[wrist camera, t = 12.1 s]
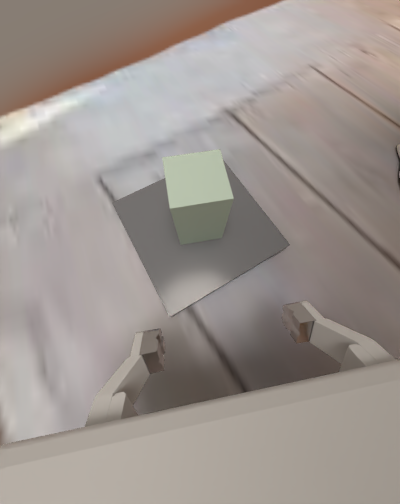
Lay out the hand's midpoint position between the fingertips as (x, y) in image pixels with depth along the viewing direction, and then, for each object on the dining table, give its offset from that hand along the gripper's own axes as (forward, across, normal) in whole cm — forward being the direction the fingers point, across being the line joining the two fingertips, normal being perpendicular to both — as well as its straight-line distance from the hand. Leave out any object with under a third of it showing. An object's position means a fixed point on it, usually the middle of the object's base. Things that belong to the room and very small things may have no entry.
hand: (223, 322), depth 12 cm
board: (+14, 0, -2) cm, 14 cm away
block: (+13, 0, -3) cm, 13 cm away
